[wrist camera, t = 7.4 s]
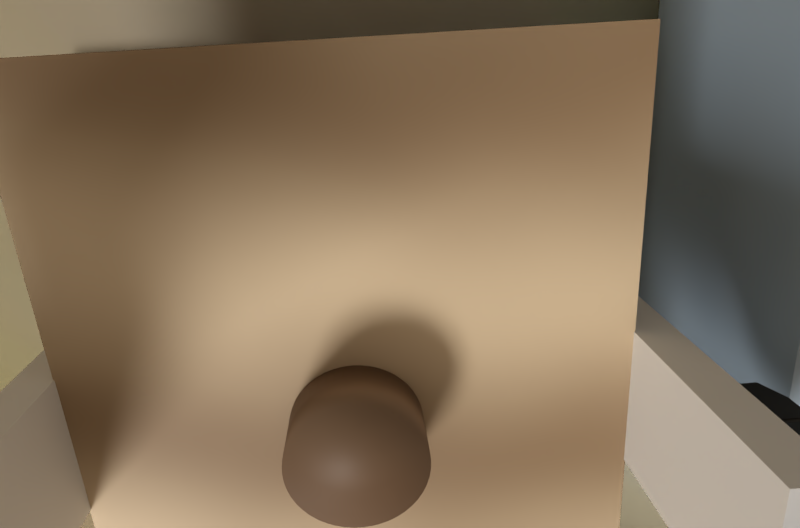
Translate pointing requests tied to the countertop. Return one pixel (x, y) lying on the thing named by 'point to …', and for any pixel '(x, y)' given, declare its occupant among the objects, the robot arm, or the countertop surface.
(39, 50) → the countertop surface
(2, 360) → the countertop surface
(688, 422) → the robot arm
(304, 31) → the countertop surface
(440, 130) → the lid
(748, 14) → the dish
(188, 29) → the countertop surface
